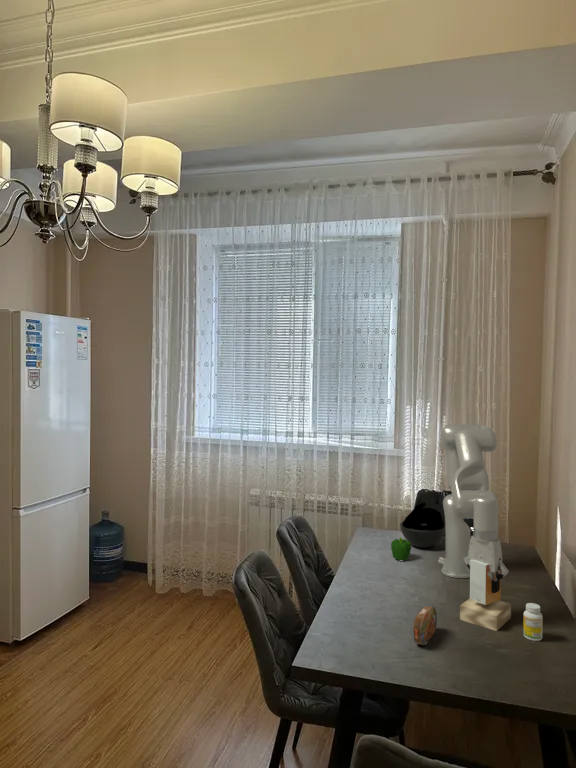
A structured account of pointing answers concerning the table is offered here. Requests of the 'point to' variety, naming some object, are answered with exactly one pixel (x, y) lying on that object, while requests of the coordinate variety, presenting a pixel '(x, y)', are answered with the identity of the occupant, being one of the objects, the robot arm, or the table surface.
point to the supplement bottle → (532, 622)
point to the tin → (424, 625)
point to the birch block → (486, 613)
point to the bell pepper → (401, 549)
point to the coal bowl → (423, 527)
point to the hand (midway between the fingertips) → (485, 588)
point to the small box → (482, 583)
